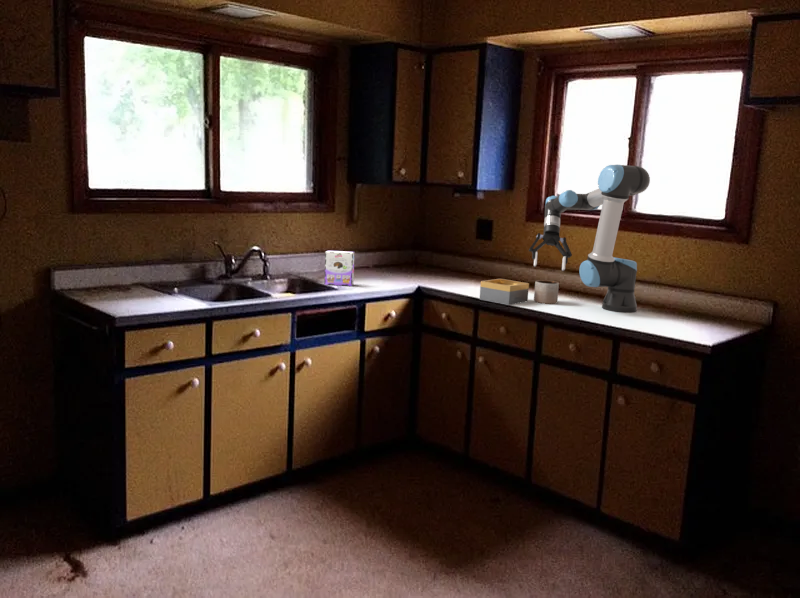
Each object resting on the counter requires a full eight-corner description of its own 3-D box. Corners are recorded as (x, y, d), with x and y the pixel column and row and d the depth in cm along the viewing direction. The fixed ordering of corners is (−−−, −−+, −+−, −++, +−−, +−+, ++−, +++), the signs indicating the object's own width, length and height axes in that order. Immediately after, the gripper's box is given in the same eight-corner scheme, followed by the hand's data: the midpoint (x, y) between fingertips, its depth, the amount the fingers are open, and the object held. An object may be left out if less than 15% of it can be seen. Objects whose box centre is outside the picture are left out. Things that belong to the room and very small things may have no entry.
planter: (538, 299, 355) (540, 279, 353) (560, 302, 349) (562, 282, 348) (530, 302, 345) (531, 281, 344) (552, 305, 340) (554, 284, 338)
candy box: (353, 284, 368) (355, 251, 366) (351, 286, 363) (353, 252, 360) (326, 282, 370) (327, 249, 367) (323, 284, 364) (324, 251, 361)
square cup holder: (527, 301, 347) (529, 283, 345) (508, 304, 335) (510, 286, 333) (498, 296, 357) (500, 278, 355) (479, 299, 345) (480, 281, 344)
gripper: (574, 234, 362) (572, 274, 354) (524, 226, 361) (521, 266, 353) (579, 227, 355) (577, 268, 347) (528, 219, 354) (525, 260, 346)
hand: (549, 267), depth 350 cm, fingers open, 13 cm apart
